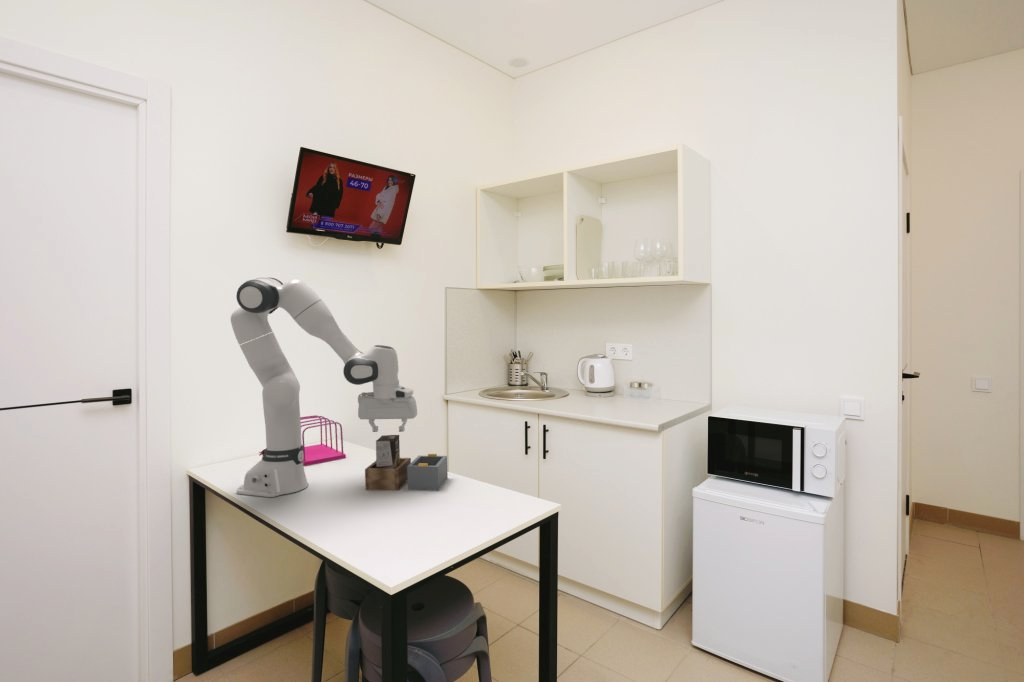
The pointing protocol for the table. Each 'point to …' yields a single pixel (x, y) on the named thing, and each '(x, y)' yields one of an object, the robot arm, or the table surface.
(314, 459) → the file sorter
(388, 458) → the coffee box
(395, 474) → the open wooden box
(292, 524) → the table surface
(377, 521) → the table surface
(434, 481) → the frame
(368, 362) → the robot arm
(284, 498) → the table surface
